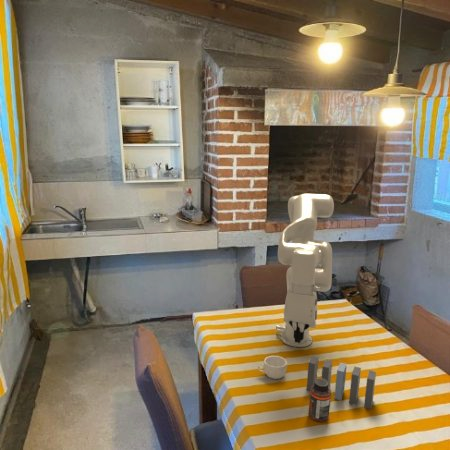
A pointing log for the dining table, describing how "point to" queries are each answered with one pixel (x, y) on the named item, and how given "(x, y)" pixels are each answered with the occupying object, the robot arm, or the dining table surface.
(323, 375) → the domino
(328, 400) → the supplement bottle
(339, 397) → the domino
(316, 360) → the domino
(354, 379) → the domino
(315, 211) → the robot arm
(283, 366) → the teacup
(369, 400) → the domino
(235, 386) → the dining table surface
